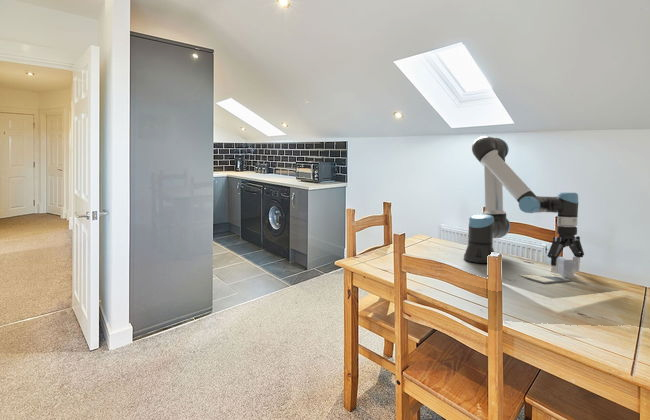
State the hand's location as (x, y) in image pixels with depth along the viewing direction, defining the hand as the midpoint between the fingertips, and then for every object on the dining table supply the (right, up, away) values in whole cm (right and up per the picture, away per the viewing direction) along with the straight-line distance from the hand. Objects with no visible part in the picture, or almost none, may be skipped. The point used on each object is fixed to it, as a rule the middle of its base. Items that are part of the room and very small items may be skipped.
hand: (565, 271), depth 157 cm
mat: (-13, -2, -4) cm, 13 cm away
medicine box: (0, -3, 0) cm, 3 cm away
